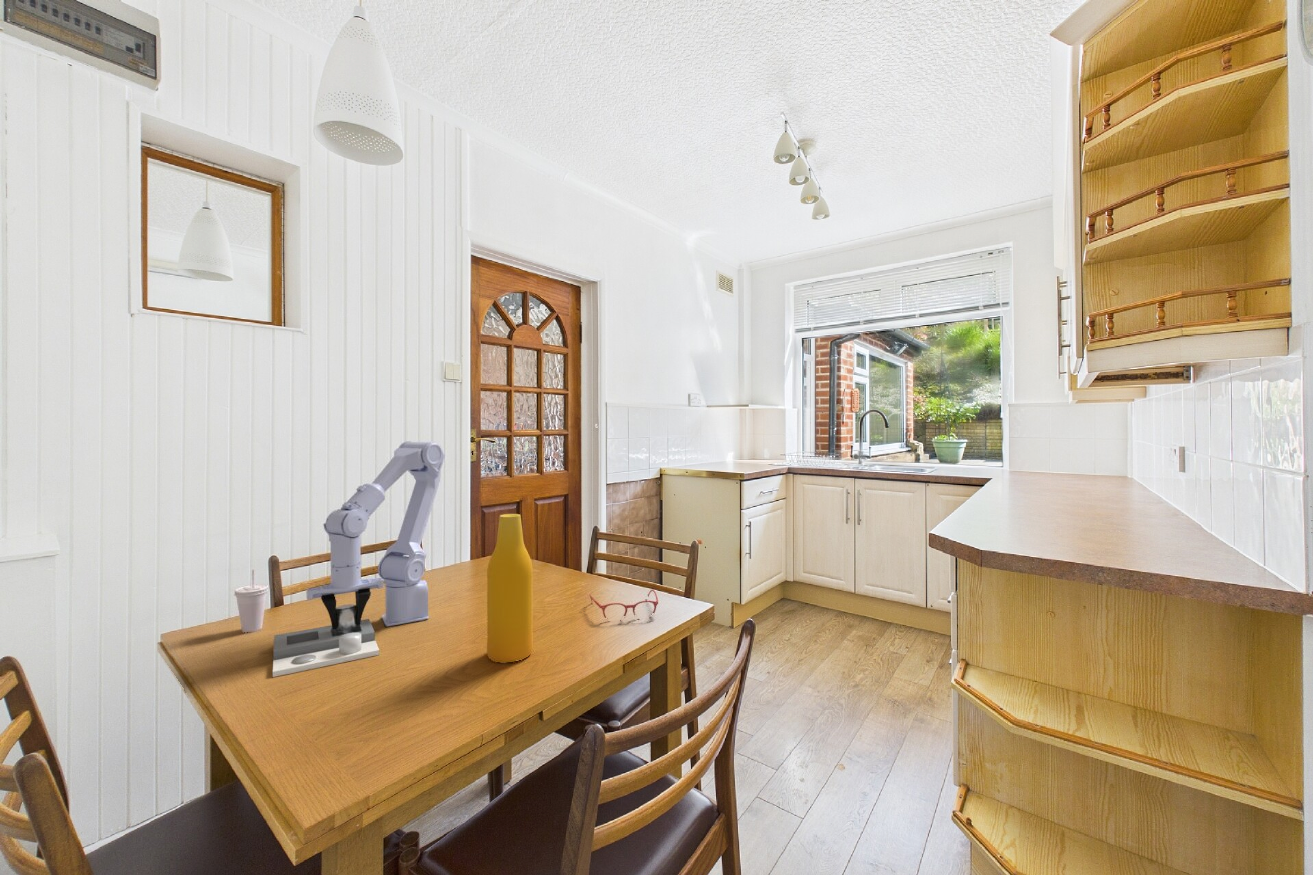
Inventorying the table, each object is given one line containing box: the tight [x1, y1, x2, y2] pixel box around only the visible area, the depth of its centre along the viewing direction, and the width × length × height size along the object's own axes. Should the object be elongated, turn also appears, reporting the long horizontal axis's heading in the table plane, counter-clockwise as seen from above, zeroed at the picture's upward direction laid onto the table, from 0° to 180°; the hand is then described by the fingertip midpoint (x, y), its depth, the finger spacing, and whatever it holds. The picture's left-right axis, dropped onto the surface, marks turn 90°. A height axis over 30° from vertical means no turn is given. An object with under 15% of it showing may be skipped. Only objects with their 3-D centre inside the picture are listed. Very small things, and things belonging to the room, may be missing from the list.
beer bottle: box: [486, 513, 534, 663], centre depth 112 cm, size 9×9×29 cm
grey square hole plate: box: [272, 618, 376, 661], centre depth 117 cm, size 18×10×2 cm, turn 124°
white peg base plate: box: [272, 633, 380, 678], centre depth 109 cm, size 18×6×4 cm, turn 124°
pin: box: [336, 604, 357, 636], centre depth 119 cm, size 4×4×6 cm
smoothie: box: [233, 569, 269, 633], centre depth 126 cm, size 6×6×14 cm
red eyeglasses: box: [588, 589, 659, 618], centre depth 140 cm, size 17×16×5 cm
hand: (346, 625), depth 119 cm, fingers closed on pin, 4 cm apart
